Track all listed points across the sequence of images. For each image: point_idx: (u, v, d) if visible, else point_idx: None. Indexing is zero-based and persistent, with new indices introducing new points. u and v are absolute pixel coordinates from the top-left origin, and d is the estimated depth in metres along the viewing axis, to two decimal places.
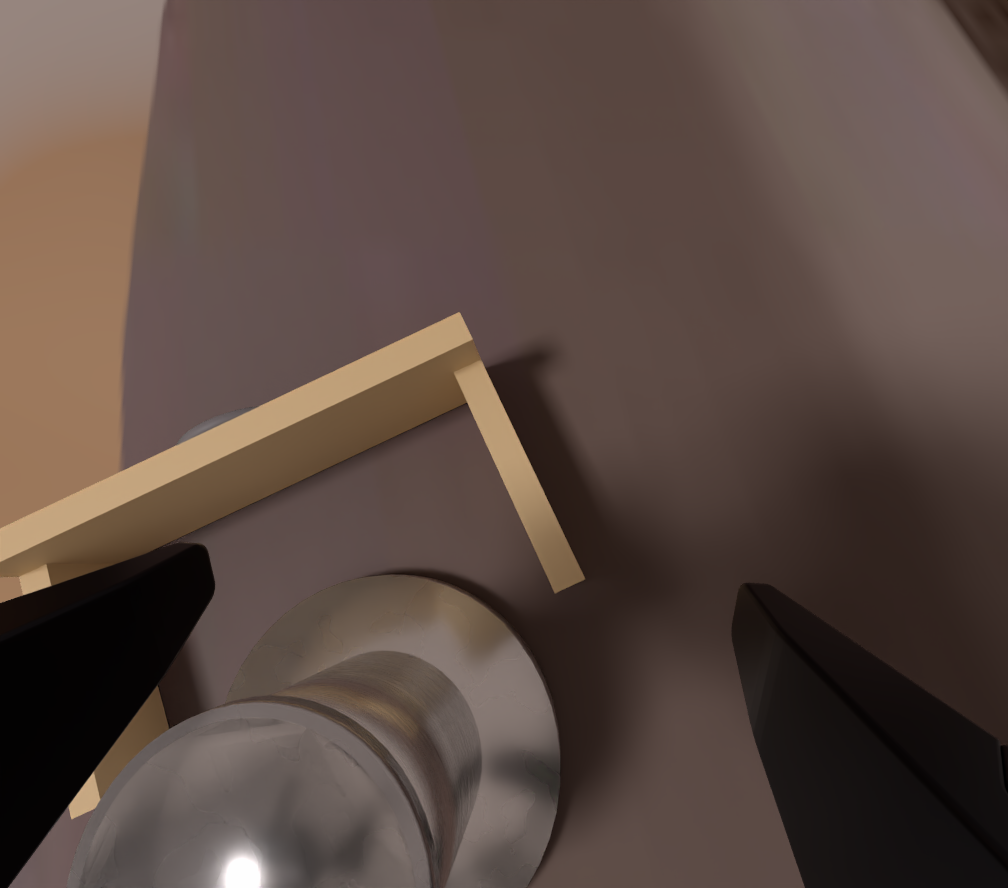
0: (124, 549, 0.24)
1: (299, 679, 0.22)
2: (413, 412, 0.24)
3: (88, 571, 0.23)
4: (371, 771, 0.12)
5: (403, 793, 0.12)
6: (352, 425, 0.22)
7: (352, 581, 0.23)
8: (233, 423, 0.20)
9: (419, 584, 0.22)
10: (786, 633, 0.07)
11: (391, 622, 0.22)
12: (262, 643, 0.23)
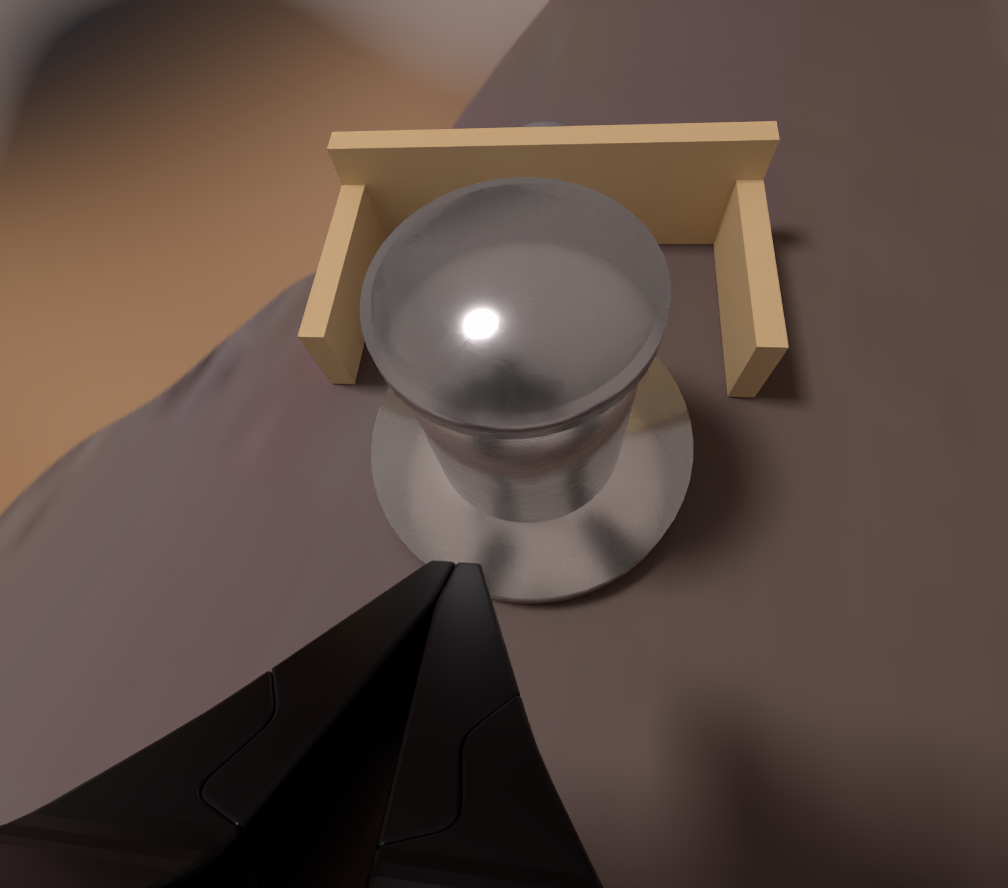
0: None
1: None
2: (673, 218, 0.27)
3: (374, 219, 0.29)
4: (647, 249, 0.15)
5: (665, 271, 0.15)
6: (632, 190, 0.26)
7: None
8: (564, 128, 0.25)
9: None
10: (439, 605, 0.07)
11: None
12: None
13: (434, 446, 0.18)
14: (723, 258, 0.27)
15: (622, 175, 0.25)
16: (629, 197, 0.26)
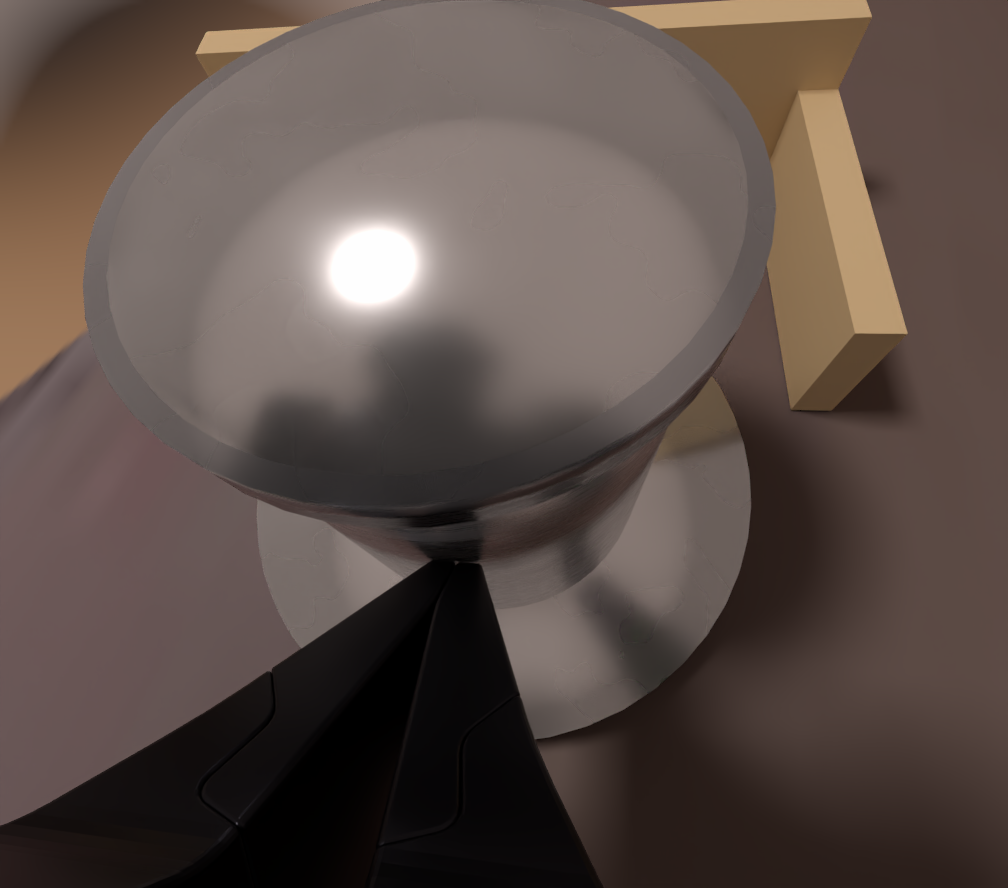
0: None
1: None
2: None
3: None
4: (707, 104, 0.07)
5: (752, 143, 0.07)
6: None
7: None
8: None
9: None
10: (439, 605, 0.07)
11: None
12: None
13: None
14: None
15: None
16: None
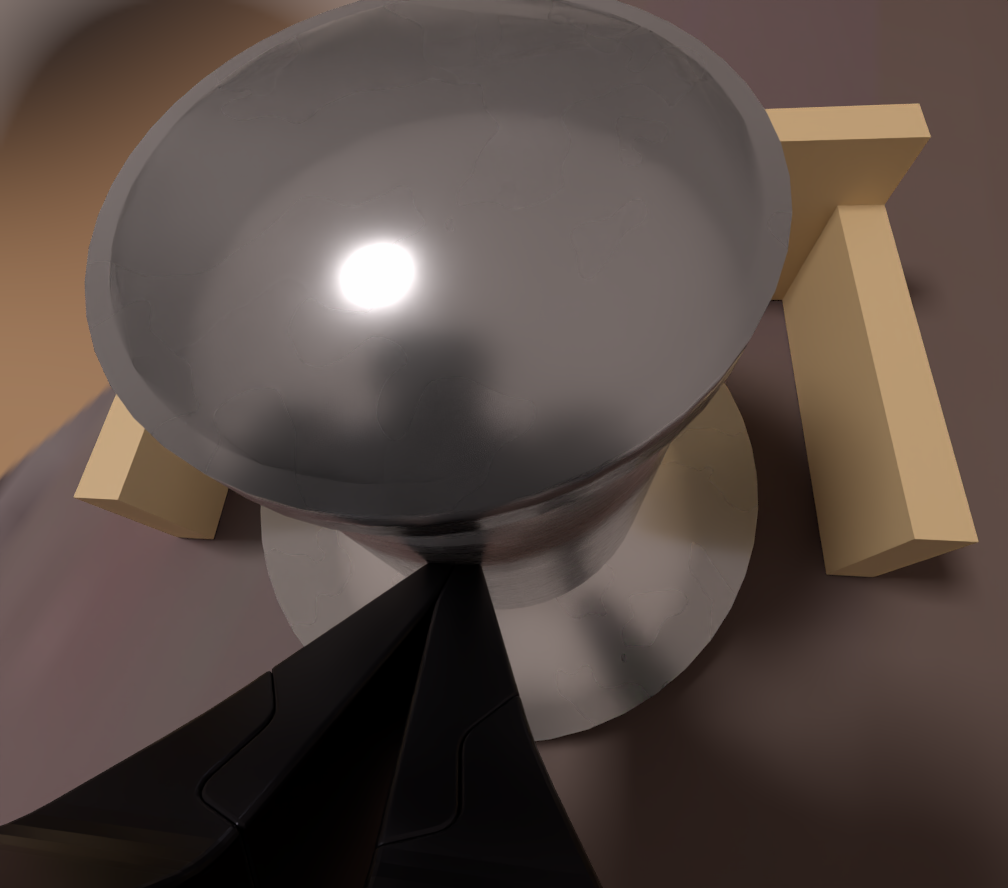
0: None
1: None
2: None
3: None
4: (723, 103, 0.07)
5: (769, 144, 0.07)
6: None
7: None
8: None
9: None
10: (439, 605, 0.07)
11: None
12: None
13: None
14: (807, 330, 0.16)
15: None
16: None
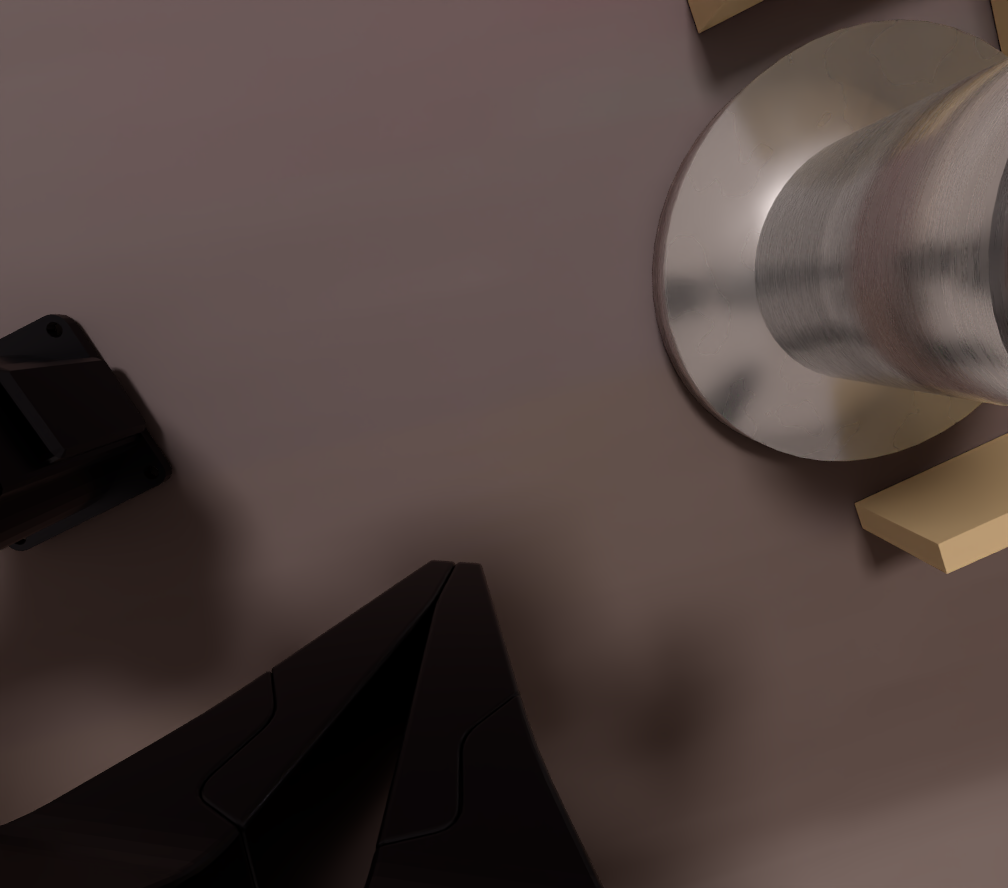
0: None
1: None
2: None
3: None
4: None
5: None
6: None
7: None
8: None
9: None
10: (439, 605, 0.07)
11: None
12: None
13: (872, 181, 0.13)
14: None
15: None
16: None
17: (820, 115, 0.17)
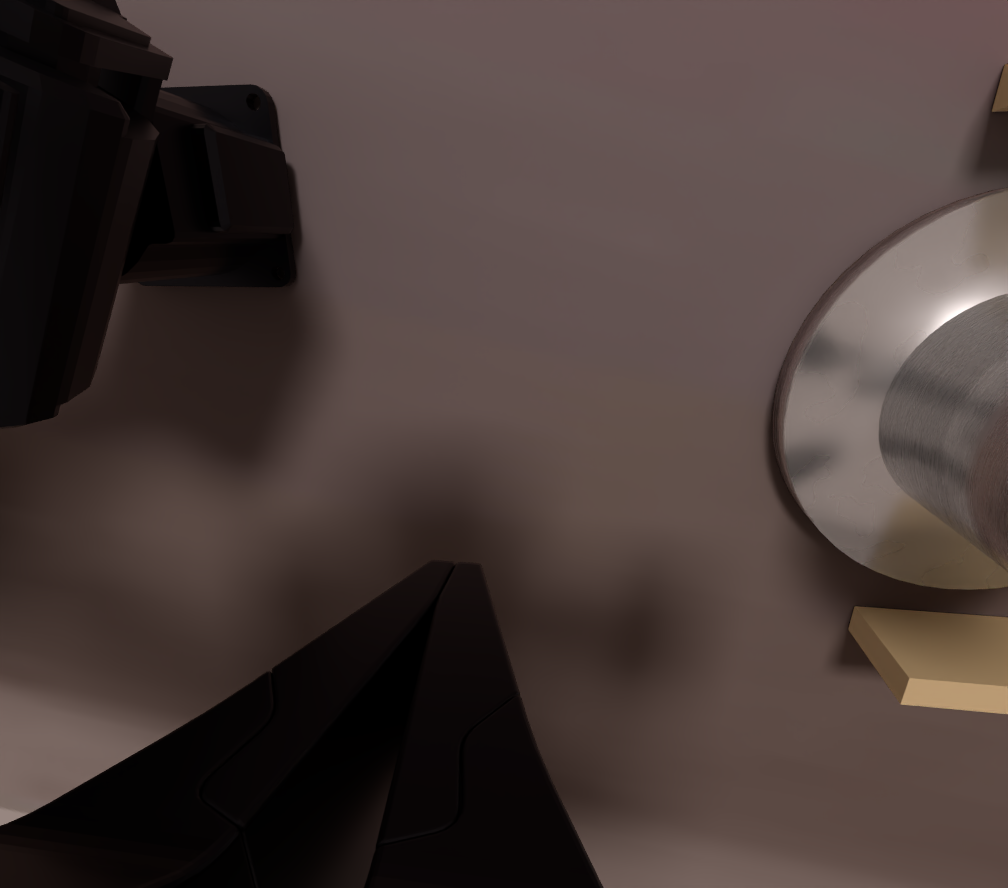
0: None
1: None
2: None
3: None
4: None
5: None
6: None
7: None
8: None
9: None
10: (439, 605, 0.07)
11: None
12: None
13: None
14: None
15: None
16: None
17: None
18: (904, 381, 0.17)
